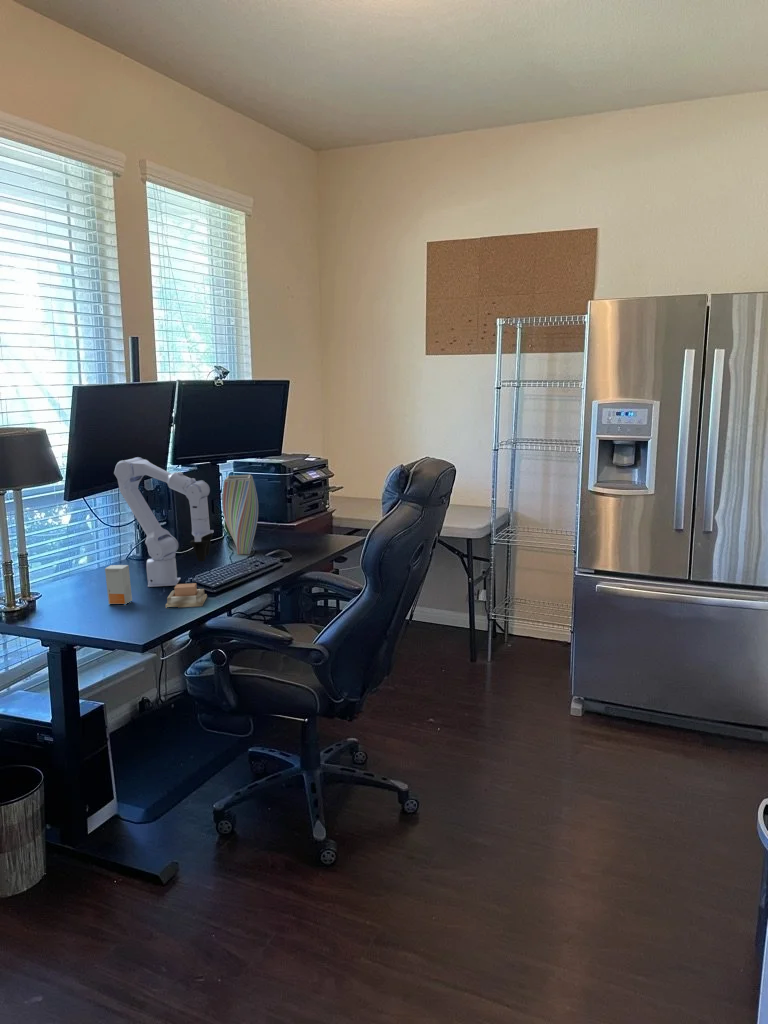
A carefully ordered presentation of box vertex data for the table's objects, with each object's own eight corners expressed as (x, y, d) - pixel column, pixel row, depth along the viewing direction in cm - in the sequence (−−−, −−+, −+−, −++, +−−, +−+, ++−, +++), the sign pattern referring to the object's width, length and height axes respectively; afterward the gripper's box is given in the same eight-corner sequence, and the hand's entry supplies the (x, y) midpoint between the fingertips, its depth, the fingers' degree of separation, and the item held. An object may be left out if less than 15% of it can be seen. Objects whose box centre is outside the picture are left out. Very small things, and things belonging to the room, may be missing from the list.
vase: (225, 558, 285) (218, 480, 279) (227, 549, 298) (221, 475, 292) (260, 555, 286) (255, 478, 280) (262, 547, 299) (256, 473, 293)
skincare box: (108, 605, 233) (104, 568, 230) (114, 601, 237) (110, 564, 234) (126, 605, 232) (122, 568, 229) (133, 601, 236) (129, 564, 233)
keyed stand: (165, 608, 228) (164, 598, 227) (171, 599, 237) (170, 589, 236) (202, 606, 228) (201, 596, 228) (206, 597, 237) (206, 588, 237)
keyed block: (195, 600, 231) (194, 586, 230) (175, 602, 230) (174, 588, 229) (197, 596, 235) (196, 583, 234) (178, 598, 234) (176, 584, 233)
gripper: (208, 522, 239) (212, 563, 242) (215, 513, 253) (218, 551, 256) (186, 523, 238) (190, 564, 241) (194, 514, 253) (198, 553, 255)
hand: (203, 558), depth 248 cm, fingers open, 7 cm apart
